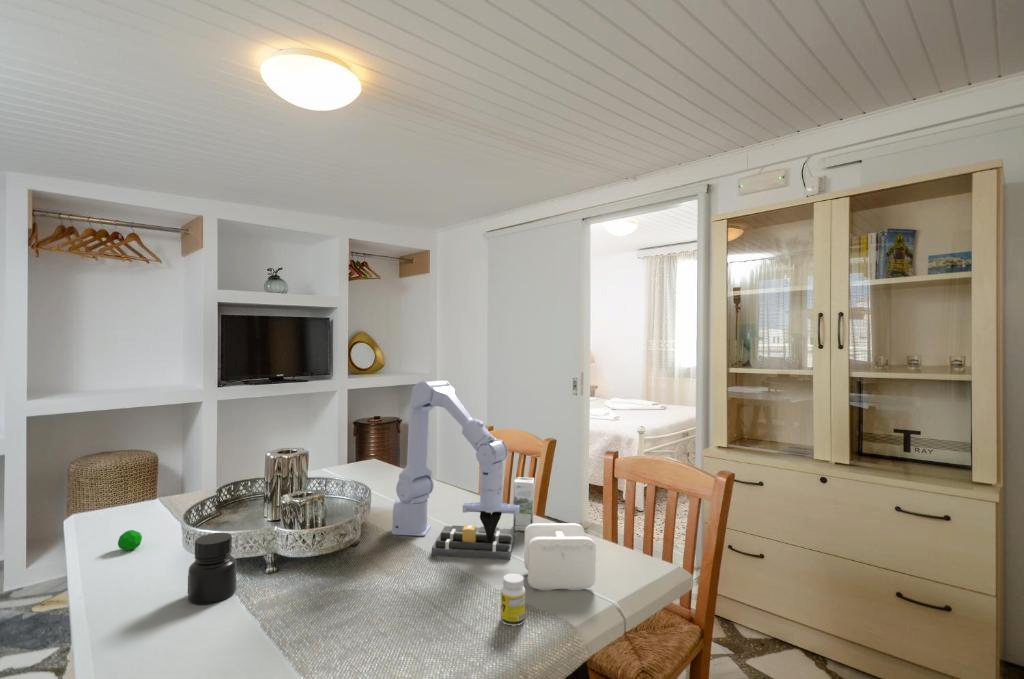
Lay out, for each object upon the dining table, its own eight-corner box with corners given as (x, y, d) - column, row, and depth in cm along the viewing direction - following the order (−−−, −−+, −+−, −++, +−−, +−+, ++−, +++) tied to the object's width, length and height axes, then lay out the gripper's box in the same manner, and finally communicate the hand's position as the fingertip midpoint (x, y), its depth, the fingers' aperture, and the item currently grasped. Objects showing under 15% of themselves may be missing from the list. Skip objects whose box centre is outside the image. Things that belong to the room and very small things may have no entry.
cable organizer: (586, 571, 125) (587, 522, 125) (595, 592, 115) (596, 539, 115) (523, 571, 124) (524, 522, 124) (527, 593, 114) (528, 539, 114)
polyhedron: (113, 551, 132) (114, 532, 133) (135, 544, 137) (135, 526, 137) (124, 555, 130) (124, 536, 130) (145, 548, 134) (146, 529, 135)
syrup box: (533, 525, 156) (534, 476, 156) (532, 532, 150) (533, 482, 150) (514, 524, 156) (515, 476, 156) (512, 531, 151) (513, 481, 151)
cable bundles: (435, 548, 132) (435, 541, 132) (443, 535, 142) (443, 528, 142) (509, 552, 130) (509, 545, 130) (512, 538, 140) (512, 531, 140)
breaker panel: (431, 555, 133) (431, 544, 133) (444, 533, 149) (445, 523, 149) (510, 559, 131) (510, 548, 131) (515, 536, 147) (515, 526, 147)
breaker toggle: (462, 545, 134) (462, 528, 134) (464, 540, 137) (464, 524, 137) (473, 545, 134) (474, 529, 134) (475, 541, 137) (475, 525, 137)
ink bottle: (227, 581, 117) (228, 527, 117) (245, 593, 112) (246, 537, 112) (178, 596, 110) (179, 539, 110) (195, 611, 104) (196, 550, 104)
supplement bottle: (499, 614, 104) (500, 572, 105) (523, 614, 105) (524, 571, 105) (501, 627, 100) (502, 583, 100) (526, 627, 100) (526, 582, 100)
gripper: (460, 491, 132) (459, 545, 132) (518, 493, 130) (517, 548, 130) (465, 483, 139) (464, 535, 139) (520, 485, 137) (519, 537, 137)
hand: (490, 540), depth 135 cm, fingers closed
